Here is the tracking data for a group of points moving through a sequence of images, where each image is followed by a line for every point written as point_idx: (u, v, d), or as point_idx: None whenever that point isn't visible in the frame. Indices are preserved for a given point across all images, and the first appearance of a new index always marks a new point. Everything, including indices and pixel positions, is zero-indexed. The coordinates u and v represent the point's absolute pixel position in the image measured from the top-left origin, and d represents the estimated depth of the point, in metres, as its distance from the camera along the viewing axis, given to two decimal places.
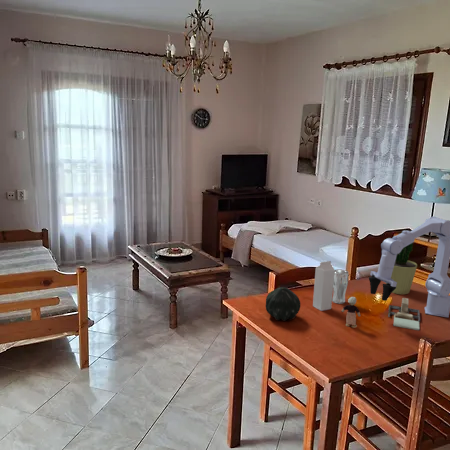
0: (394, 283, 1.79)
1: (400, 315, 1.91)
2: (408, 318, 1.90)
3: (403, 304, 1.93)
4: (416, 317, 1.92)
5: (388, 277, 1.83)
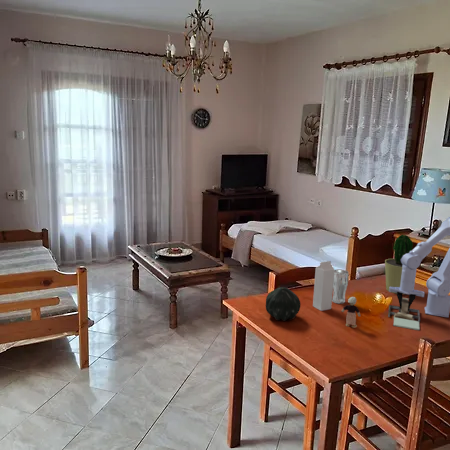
0: None
1: (400, 315, 1.91)
2: (408, 318, 1.90)
3: (403, 304, 1.93)
4: (416, 317, 1.92)
5: (413, 289, 1.94)
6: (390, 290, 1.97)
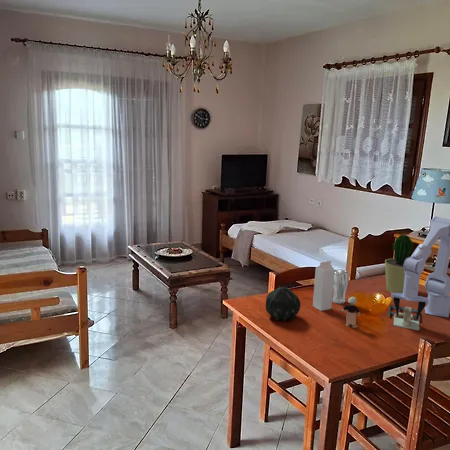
0: (428, 300, 1.81)
1: (400, 315, 1.91)
2: None
3: (406, 313, 1.82)
4: None
5: None
6: (392, 296, 1.85)
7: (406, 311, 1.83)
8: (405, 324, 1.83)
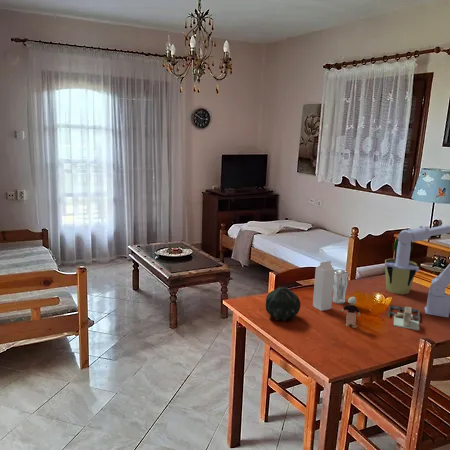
0: (418, 268, 2.00)
1: (400, 315, 1.91)
2: None
3: (406, 313, 1.82)
4: (416, 317, 1.92)
5: (408, 264, 2.01)
6: (386, 266, 2.04)
7: (406, 311, 1.83)
8: (405, 324, 1.83)
